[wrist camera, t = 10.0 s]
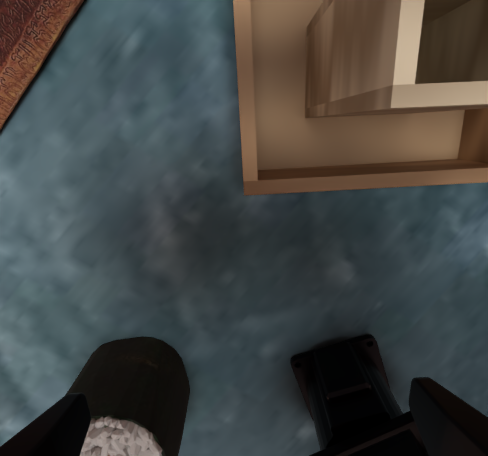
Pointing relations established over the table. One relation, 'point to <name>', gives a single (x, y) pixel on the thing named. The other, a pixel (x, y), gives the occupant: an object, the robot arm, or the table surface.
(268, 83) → the oak crate
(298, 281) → the table surface
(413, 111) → the birch crate
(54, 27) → the wooden tablet
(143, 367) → the sushi
